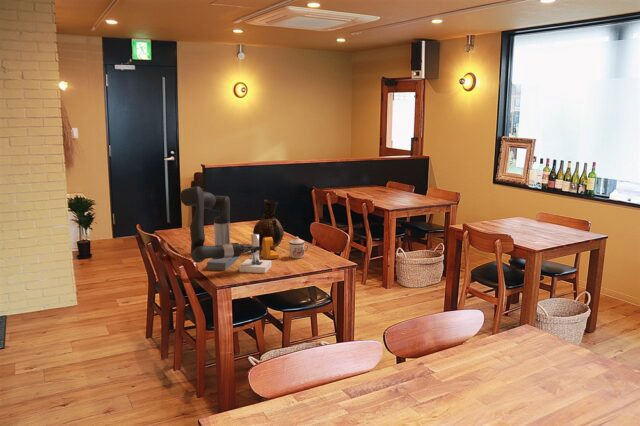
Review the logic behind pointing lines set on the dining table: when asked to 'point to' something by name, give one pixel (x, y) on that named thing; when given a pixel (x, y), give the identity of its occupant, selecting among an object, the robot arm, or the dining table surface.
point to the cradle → (255, 266)
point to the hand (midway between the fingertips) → (260, 246)
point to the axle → (254, 243)
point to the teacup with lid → (297, 248)
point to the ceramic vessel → (269, 225)
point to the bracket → (268, 249)
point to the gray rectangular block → (221, 263)
